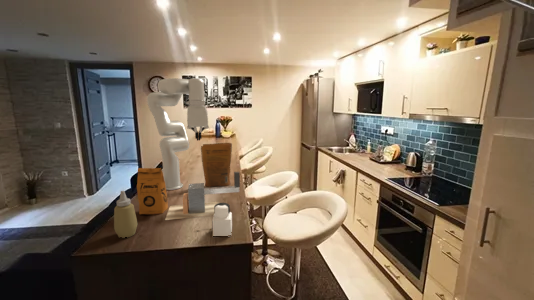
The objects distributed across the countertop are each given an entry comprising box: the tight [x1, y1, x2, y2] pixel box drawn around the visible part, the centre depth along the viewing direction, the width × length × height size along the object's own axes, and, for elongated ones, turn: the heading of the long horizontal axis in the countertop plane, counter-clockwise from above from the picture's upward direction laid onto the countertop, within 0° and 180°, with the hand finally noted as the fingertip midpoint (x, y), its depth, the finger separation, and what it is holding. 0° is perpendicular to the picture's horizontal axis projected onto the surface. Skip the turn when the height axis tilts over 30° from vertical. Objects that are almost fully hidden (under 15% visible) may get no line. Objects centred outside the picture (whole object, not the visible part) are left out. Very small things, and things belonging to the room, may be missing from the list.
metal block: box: [187, 182, 206, 214], centre depth 117 cm, size 8×7×12 cm
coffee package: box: [136, 167, 169, 216], centre depth 116 cm, size 10×12×22 cm
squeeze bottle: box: [113, 190, 138, 239], centre depth 96 cm, size 8×8×18 cm
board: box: [164, 201, 220, 221], centre depth 118 cm, size 16×24×1 cm, turn 104°
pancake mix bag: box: [200, 142, 233, 188], centre depth 155 cm, size 7×19×28 cm, turn 100°
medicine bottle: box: [211, 202, 233, 237], centre depth 98 cm, size 7×7×12 cm
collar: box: [182, 192, 189, 214], centre depth 117 cm, size 7×2×7 cm, turn 14°
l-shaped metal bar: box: [204, 171, 241, 195], centre depth 119 cm, size 2×20×10 cm, turn 104°
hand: (198, 140), depth 127 cm, fingers closed
